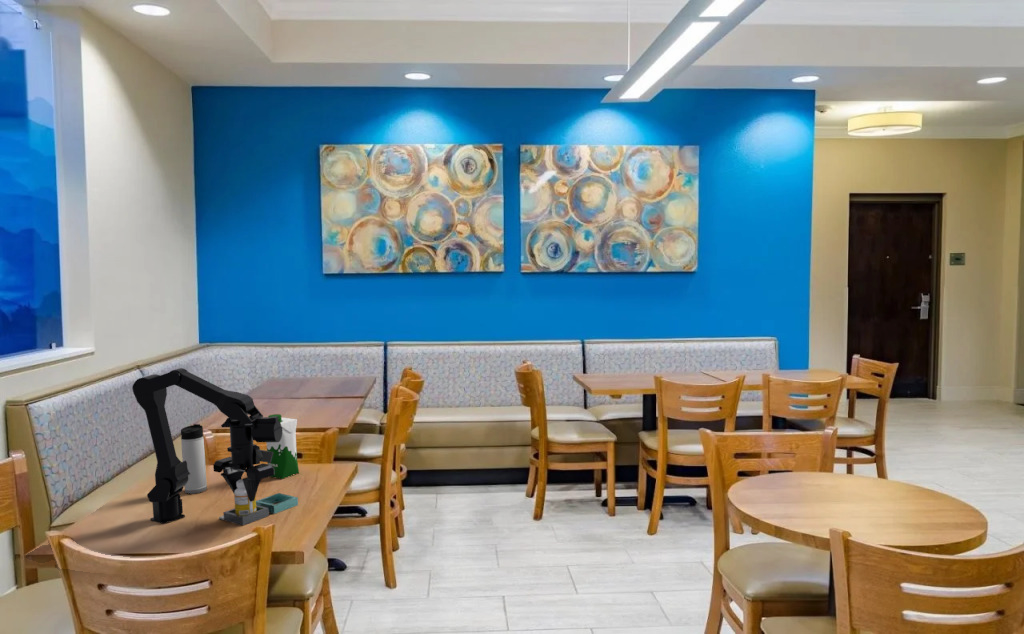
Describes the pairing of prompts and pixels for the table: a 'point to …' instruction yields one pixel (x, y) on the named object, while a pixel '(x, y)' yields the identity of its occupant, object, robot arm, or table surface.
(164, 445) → the robot arm
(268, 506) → the grey and teal tray
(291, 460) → the milk carton
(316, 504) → the table surface
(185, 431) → the travel mug
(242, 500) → the supplement bottle
